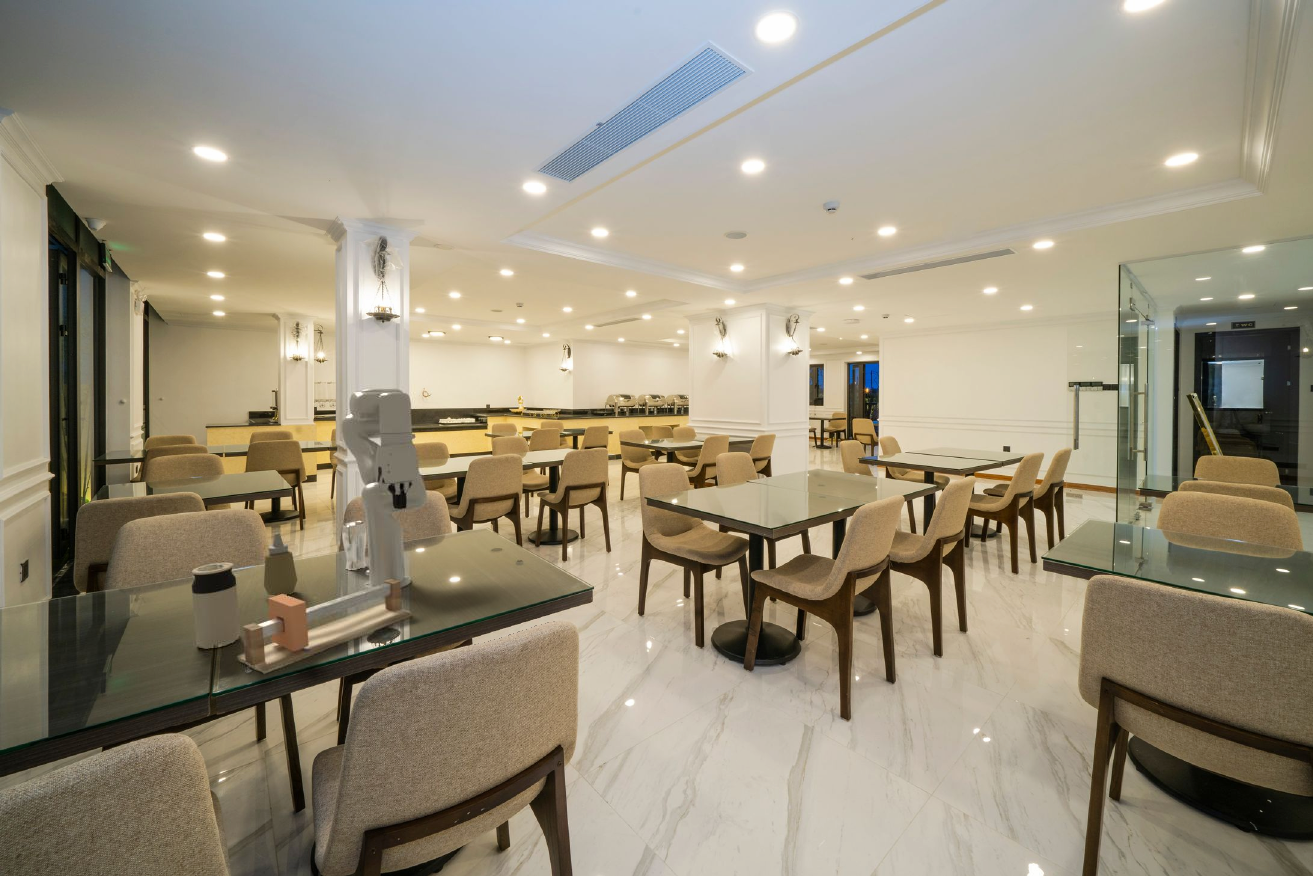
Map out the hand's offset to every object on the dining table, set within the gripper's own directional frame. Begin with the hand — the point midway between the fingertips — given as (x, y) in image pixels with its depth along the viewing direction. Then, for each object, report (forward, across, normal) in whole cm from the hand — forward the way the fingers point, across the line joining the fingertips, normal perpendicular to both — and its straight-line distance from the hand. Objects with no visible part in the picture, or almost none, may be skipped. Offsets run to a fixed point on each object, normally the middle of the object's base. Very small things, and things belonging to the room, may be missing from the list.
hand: (400, 508), depth 146 cm
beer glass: (+27, -13, -45) cm, 54 cm away
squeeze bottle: (+27, +12, -40) cm, 50 cm away
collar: (+25, +29, +1) cm, 39 cm away
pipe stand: (+27, +20, +1) cm, 34 cm away
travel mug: (+27, +35, -19) cm, 48 cm away
